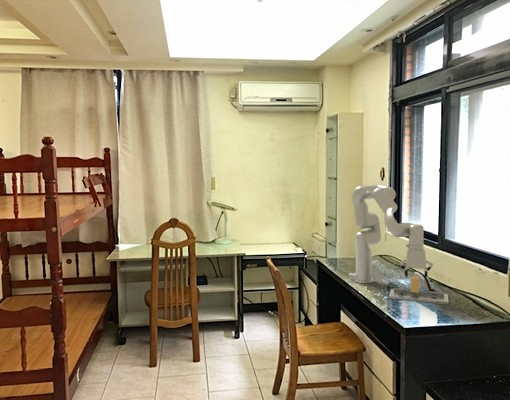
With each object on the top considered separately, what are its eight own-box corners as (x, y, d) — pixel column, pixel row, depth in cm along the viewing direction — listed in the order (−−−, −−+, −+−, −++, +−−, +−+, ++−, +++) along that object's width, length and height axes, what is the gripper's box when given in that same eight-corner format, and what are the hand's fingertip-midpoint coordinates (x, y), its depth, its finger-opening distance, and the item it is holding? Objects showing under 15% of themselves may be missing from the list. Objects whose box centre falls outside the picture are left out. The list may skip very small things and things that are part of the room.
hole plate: (388, 298, 239) (389, 295, 239) (391, 291, 252) (391, 288, 252) (448, 304, 228) (448, 302, 228) (447, 296, 241) (447, 294, 241)
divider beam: (393, 294, 242) (393, 289, 242) (394, 290, 249) (394, 285, 249) (444, 299, 232) (444, 294, 232) (443, 295, 239) (444, 290, 239)
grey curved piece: (435, 290, 252) (430, 274, 251) (428, 293, 252) (422, 277, 251) (424, 282, 269) (419, 267, 268) (416, 285, 269) (411, 270, 268)
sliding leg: (410, 295, 239) (410, 279, 238) (411, 291, 246) (411, 276, 245) (418, 296, 237) (418, 280, 236) (418, 292, 244) (419, 276, 243)
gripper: (399, 247, 239) (399, 278, 240) (433, 249, 232) (432, 280, 233) (400, 245, 246) (400, 275, 247) (433, 246, 239) (432, 277, 240)
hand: (416, 277), depth 240 cm, fingers open, 9 cm apart
